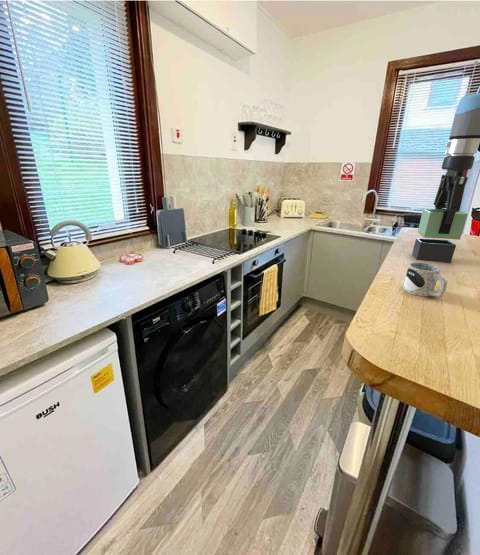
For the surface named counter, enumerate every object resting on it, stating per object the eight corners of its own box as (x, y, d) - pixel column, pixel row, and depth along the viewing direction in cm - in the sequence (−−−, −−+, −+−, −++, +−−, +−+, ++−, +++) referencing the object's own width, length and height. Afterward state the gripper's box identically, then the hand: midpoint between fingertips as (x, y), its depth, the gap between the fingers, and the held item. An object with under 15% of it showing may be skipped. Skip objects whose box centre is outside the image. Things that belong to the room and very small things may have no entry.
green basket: (450, 233, 93) (457, 209, 90) (460, 239, 86) (468, 214, 83) (417, 231, 96) (423, 208, 93) (423, 237, 89) (430, 212, 86)
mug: (397, 286, 73) (402, 263, 70) (417, 284, 74) (423, 261, 72) (429, 304, 64) (437, 278, 61) (452, 300, 65) (460, 275, 63)
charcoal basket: (444, 256, 96) (449, 240, 93) (450, 262, 90) (456, 245, 88) (411, 254, 99) (416, 237, 96) (416, 259, 93) (420, 242, 91)
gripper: (434, 156, 92) (418, 223, 101) (458, 155, 74) (435, 237, 82) (460, 155, 90) (441, 224, 98) (492, 154, 71) (465, 239, 80)
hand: (439, 230), depth 90 cm, fingers closed on green basket, 8 cm apart
